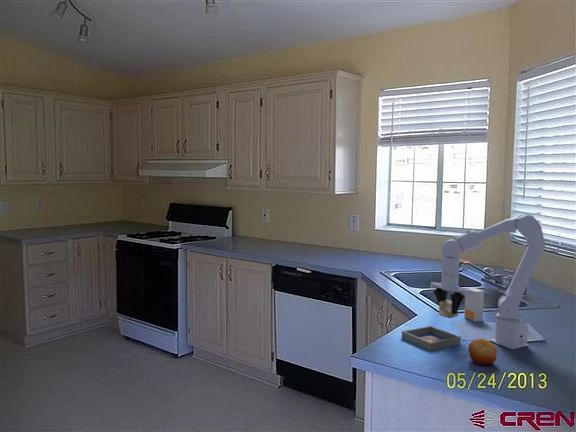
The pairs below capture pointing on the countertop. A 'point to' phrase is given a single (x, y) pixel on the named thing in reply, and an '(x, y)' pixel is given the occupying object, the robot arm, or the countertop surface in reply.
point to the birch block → (446, 309)
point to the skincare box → (474, 305)
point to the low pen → (412, 337)
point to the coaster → (430, 339)
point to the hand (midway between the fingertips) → (448, 311)
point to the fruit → (482, 352)
